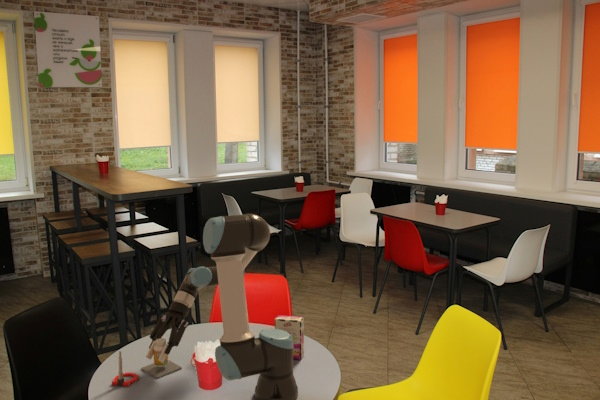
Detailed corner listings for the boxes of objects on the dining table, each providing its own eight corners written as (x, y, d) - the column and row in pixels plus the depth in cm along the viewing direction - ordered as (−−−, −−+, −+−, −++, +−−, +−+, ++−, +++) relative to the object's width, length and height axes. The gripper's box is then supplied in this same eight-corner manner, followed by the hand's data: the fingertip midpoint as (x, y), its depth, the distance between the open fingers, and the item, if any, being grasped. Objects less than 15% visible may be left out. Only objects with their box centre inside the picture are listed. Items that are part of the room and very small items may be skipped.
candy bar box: (304, 355, 223) (304, 316, 220) (301, 360, 218) (301, 321, 215) (277, 352, 226) (277, 314, 223) (274, 357, 221) (274, 318, 218)
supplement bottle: (155, 361, 213) (154, 337, 211) (169, 360, 213) (168, 337, 211) (153, 367, 207) (151, 343, 206) (167, 367, 208) (166, 343, 206)
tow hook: (121, 374, 207) (108, 385, 198) (120, 341, 206) (108, 351, 196) (142, 376, 206) (130, 387, 197) (141, 343, 204) (130, 353, 195)
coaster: (181, 368, 211) (181, 367, 211) (157, 378, 203) (156, 377, 203) (165, 359, 218) (165, 358, 218) (141, 369, 210) (141, 367, 210)
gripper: (204, 313, 216) (178, 369, 205) (168, 305, 225) (141, 358, 213) (195, 304, 211) (168, 361, 199) (159, 296, 219) (130, 350, 208)
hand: (154, 359), depth 206 cm, fingers closed on supplement bottle, 5 cm apart
